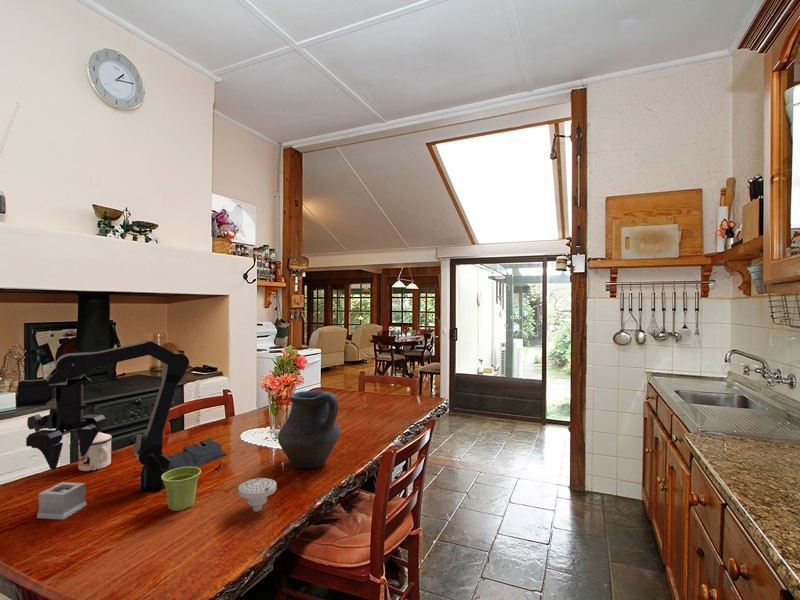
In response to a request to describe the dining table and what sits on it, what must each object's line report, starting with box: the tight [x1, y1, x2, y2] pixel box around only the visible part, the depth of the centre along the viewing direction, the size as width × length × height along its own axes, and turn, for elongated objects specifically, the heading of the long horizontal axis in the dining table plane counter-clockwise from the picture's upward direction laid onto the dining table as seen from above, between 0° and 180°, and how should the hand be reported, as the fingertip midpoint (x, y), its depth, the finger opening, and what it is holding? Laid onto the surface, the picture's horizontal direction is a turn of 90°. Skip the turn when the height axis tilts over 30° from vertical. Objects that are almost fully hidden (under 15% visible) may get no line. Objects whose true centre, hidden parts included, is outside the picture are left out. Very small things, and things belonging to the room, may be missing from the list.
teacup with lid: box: [77, 431, 113, 472], centre depth 137 cm, size 12×9×12 cm
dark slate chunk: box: [166, 437, 228, 471], centre depth 144 cm, size 15×22×5 cm
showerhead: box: [238, 477, 277, 512], centre depth 111 cm, size 9×7×10 cm
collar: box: [38, 481, 86, 515], centre depth 108 cm, size 7×7×5 cm
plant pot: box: [161, 467, 202, 512], centre depth 112 cm, size 9×9×9 cm
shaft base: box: [36, 490, 88, 520], centre depth 108 cm, size 7×7×6 cm
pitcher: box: [277, 390, 341, 470], centre depth 142 cm, size 21×22×25 cm
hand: (68, 462), depth 110 cm, fingers open, 9 cm apart
